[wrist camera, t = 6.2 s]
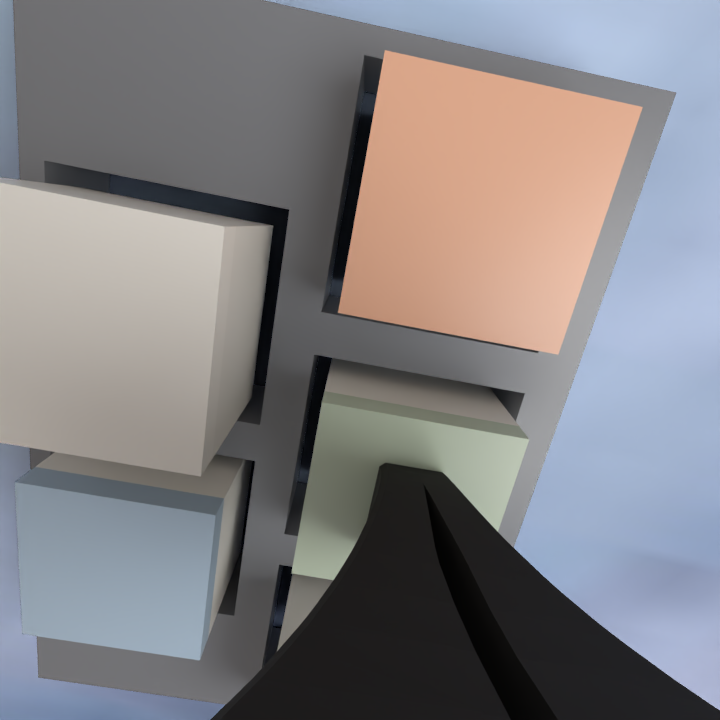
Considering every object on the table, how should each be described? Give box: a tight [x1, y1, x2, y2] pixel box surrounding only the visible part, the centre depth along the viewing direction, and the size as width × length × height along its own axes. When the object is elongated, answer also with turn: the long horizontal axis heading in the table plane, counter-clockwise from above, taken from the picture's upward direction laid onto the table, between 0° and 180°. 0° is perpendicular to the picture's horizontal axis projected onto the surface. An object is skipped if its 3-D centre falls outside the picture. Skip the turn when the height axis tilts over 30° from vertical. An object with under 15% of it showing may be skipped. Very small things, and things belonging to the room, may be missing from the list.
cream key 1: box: [0, 177, 273, 477], centre depth 9 cm, size 4×4×4 cm
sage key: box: [291, 358, 529, 580], centre depth 11 cm, size 4×4×4 cm
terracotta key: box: [338, 50, 643, 355], centre depth 9 cm, size 4×4×4 cm
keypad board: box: [13, 0, 676, 704], centre depth 12 cm, size 18×12×2 cm
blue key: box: [15, 452, 252, 660], centre depth 12 cm, size 4×4×4 cm
